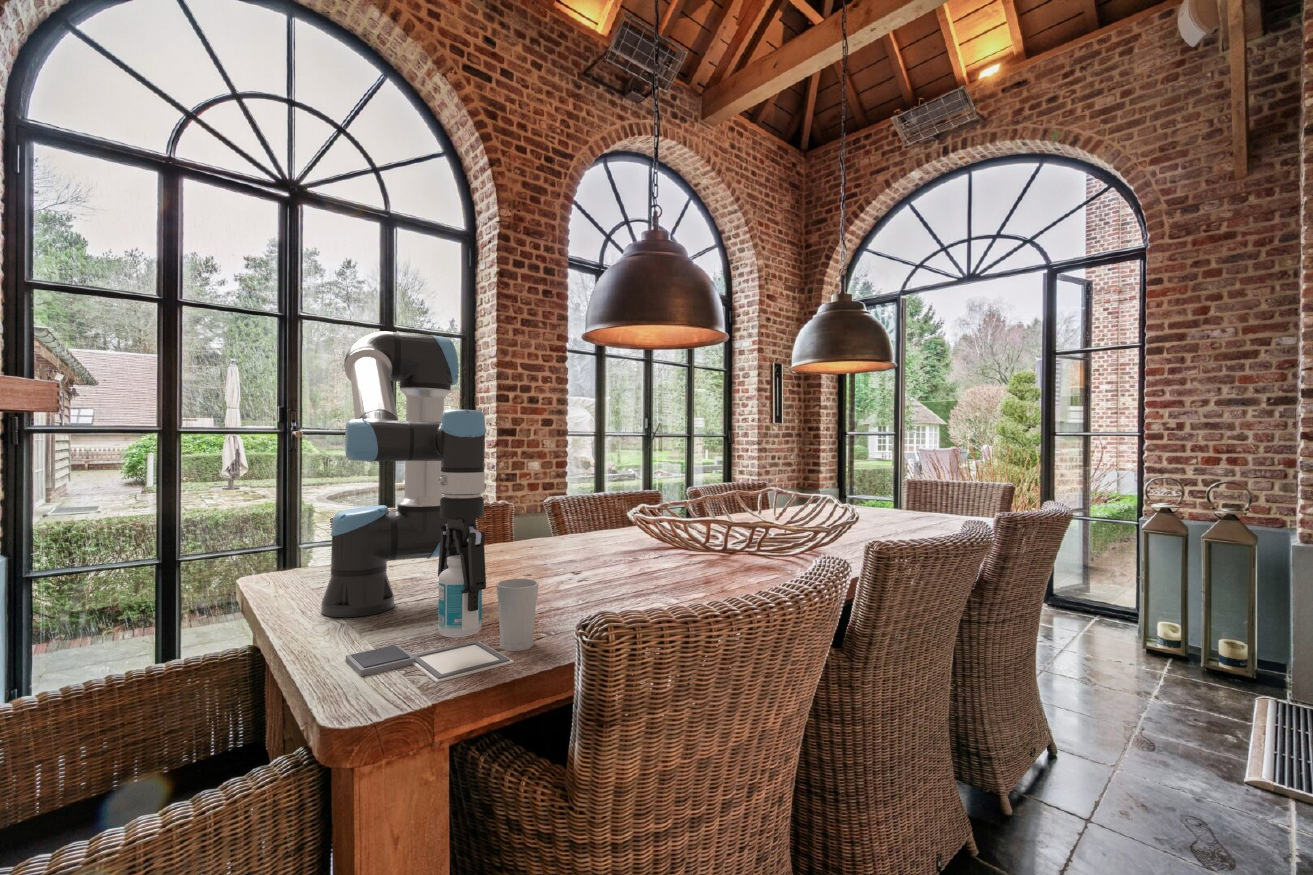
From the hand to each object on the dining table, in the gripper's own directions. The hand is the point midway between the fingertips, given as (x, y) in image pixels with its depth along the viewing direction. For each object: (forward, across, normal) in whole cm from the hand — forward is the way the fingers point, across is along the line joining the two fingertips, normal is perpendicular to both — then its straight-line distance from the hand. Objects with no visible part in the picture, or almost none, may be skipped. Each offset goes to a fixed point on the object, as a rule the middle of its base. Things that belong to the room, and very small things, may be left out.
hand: (460, 623), depth 108 cm
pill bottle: (+2, 0, 0) cm, 2 cm away
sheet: (+7, 0, 0) cm, 7 cm away
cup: (+7, -1, +12) cm, 14 cm away
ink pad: (+7, -8, -11) cm, 15 cm away
